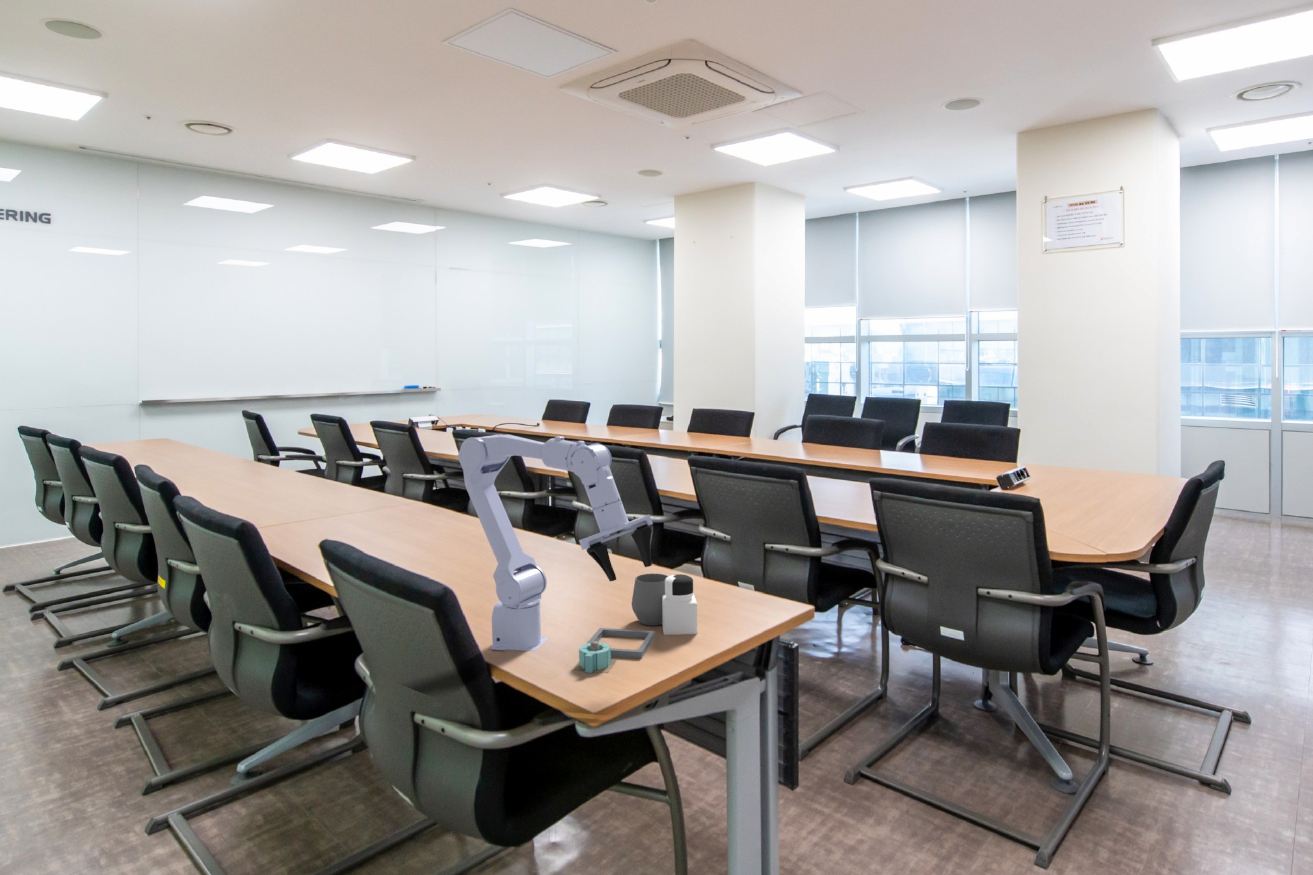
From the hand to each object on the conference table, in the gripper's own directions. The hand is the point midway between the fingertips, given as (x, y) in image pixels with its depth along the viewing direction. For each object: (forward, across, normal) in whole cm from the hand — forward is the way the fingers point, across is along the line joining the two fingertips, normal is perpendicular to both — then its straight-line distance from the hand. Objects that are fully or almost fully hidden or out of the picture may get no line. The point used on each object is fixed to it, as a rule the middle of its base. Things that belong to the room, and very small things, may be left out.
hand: (631, 573), depth 144 cm
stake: (+15, -10, +7) cm, 19 cm away
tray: (+14, -2, +14) cm, 20 cm away
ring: (+14, -10, +7) cm, 19 cm away
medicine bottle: (+17, +13, +18) cm, 28 cm away
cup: (+14, +11, +26) cm, 31 cm away
